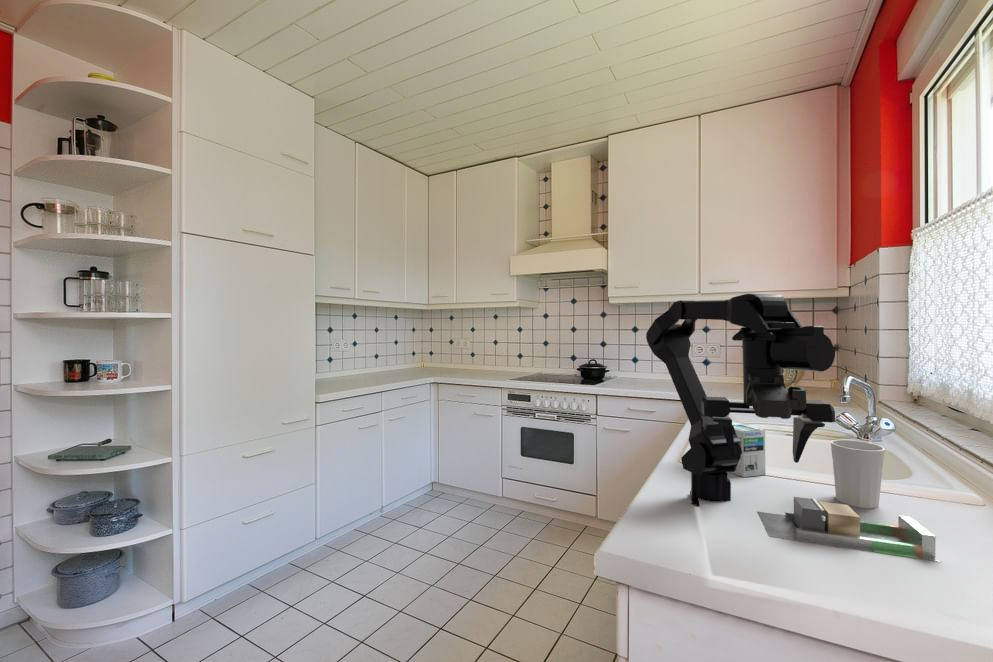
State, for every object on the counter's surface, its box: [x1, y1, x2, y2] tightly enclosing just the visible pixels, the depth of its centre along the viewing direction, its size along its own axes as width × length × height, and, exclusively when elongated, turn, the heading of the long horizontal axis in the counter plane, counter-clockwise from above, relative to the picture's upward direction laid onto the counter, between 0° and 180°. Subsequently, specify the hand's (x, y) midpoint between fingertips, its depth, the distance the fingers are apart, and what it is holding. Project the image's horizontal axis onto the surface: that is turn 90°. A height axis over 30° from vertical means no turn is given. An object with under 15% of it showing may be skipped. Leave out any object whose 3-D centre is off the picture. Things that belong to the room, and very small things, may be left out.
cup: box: [830, 439, 886, 510], centre depth 83 cm, size 8×8×12 cm
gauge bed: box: [757, 510, 942, 563], centre depth 70 cm, size 21×10×2 cm, turn 69°
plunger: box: [793, 496, 826, 532], centre depth 71 cm, size 3×6×4 cm, turn 158°
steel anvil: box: [897, 514, 937, 557], centre depth 67 cm, size 2×7×3 cm, turn 159°
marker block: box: [817, 500, 861, 537], centre depth 70 cm, size 4×5×4 cm
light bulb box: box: [731, 421, 767, 478], centre depth 105 cm, size 11×7×11 cm, turn 17°
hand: (764, 459), depth 74 cm, fingers open, 9 cm apart
